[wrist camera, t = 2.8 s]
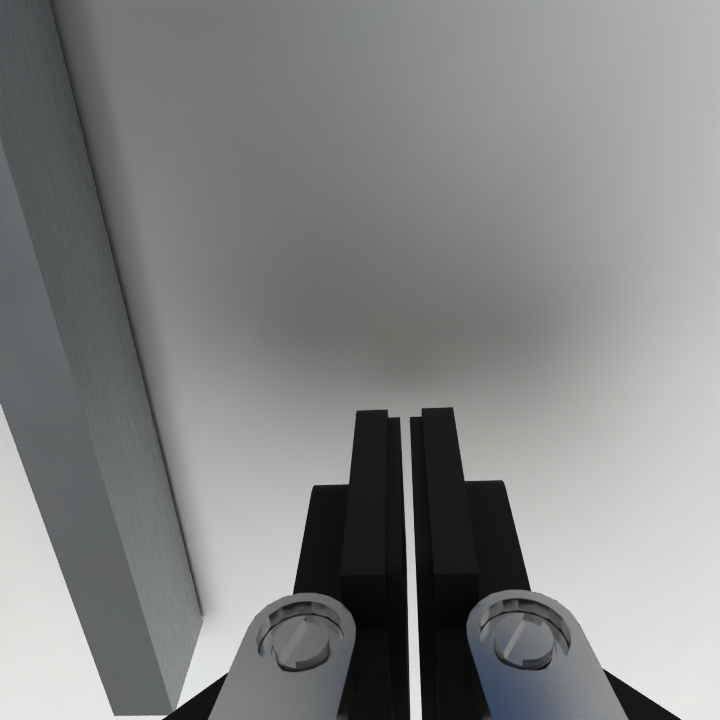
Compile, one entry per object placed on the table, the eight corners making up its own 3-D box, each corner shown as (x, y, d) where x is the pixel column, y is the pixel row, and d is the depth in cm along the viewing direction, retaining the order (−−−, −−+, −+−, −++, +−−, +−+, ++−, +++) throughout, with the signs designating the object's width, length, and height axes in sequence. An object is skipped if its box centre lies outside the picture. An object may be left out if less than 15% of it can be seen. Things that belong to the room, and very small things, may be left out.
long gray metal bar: (-52, -63, 12) (-177, -86, 9) (32, -70, 12) (-70, -96, 9) (150, 623, 20) (114, 715, 17) (202, 622, 20) (173, 715, 17)
